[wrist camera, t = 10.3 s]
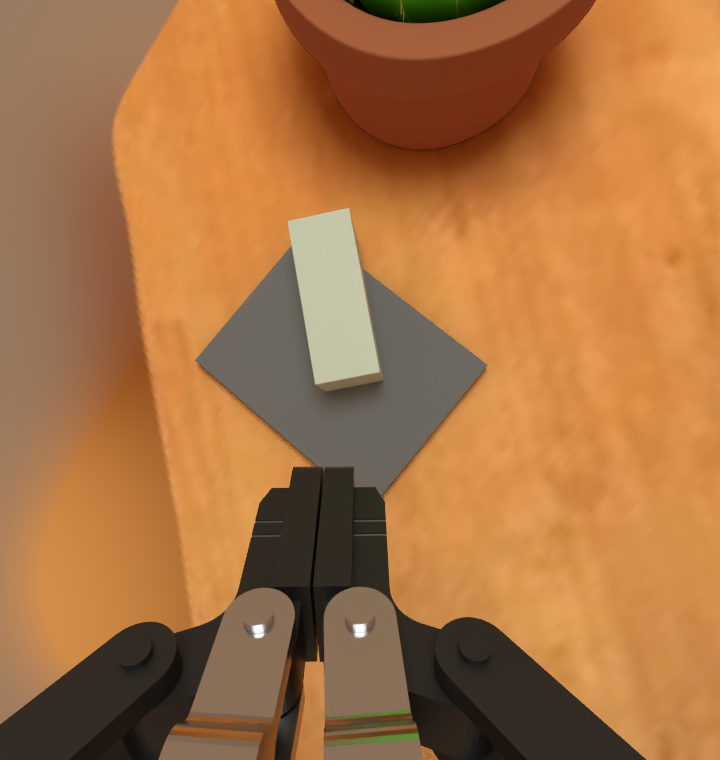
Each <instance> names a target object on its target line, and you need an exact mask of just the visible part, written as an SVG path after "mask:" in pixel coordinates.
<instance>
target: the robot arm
mask: <svg viewBox="0 0 720 760" xmlns="http://www.w3.org/2000/svg"><path fill="white" fill-rule="evenodd" d="M318 646H319V657H320V662H324V675H325V728H324V760H423V758H422V752H421V745H422V746H424V747H427V748H430V749H432V750H433V752H434V754H435V755H436V756H437V758H438V759H439V760H646V759H645V758H644V757H643V756H641V755H640V754H639V753H638V752H637V751H636V750H635V749H634V748H632V747H631V746H630V745H629V744H628V743H627V742H626V741H625V740H623V739H622V738H621V737H620V736H619V735H618V734H617V733H615V732H614V731H613V730H612V729H611V728H610V727H609V726H608V725H606V724H605V723H604V722H603V721H602V720H601V719H600V718H599V717H597V716H596V715H595V714H594V713H593V712H592V711H591V710H590V709H588V708H587V707H586V706H585V705H584V704H583V703H582V702H580V701H579V700H578V699H577V698H576V697H575V696H574V695H573V694H571V693H570V692H569V691H568V690H567V689H566V688H565V687H564V686H562V685H561V684H560V683H559V682H558V681H557V680H556V679H554V678H553V677H552V676H551V675H550V674H549V673H548V672H547V671H545V670H544V669H543V668H542V667H541V666H540V665H539V664H538V663H536V662H535V661H534V660H533V659H532V658H531V657H530V656H528V655H527V654H526V653H525V652H524V651H523V650H522V649H521V648H519V647H518V646H517V645H516V644H515V643H514V642H513V641H512V640H510V639H509V638H508V637H507V636H506V635H505V634H504V633H503V632H501V631H500V630H499V629H498V628H496V627H495V626H494V625H492V624H490V623H489V622H486V621H484V620H481V619H477V618H471V617H465V618H459V619H455V620H453V621H451V622H449V623H447V624H446V625H445V626H444V627H443V628H442V629H438V628H434V627H431V626H428V625H425V624H421V623H419V622H416V621H414V620H412V619H410V618H409V617H407V616H406V615H405V614H403V613H402V612H401V611H400V610H399V609H398V607H397V606H396V605H395V603H394V601H393V599H392V597H391V594H390V587H389V569H388V552H387V536H386V517H385V501H384V500H383V498H382V497H381V495H380V494H379V492H378V490H377V489H376V487H355V482H354V466H334V467H325V469H324V470H323V467H293V470H292V476H291V481H290V487H289V488H272V489H271V490H270V491H269V492H268V493H267V495H266V496H265V497H264V498H263V500H262V501H261V502H260V504H259V508H258V512H257V516H256V523H255V524H254V528H253V532H252V538H251V541H250V545H249V549H248V553H247V557H246V561H245V565H244V569H243V573H242V577H241V581H240V585H239V589H238V592H237V595H236V597H235V599H234V601H233V602H232V603H231V604H230V605H229V606H228V608H227V609H226V611H224V612H223V613H222V614H221V615H220V616H218V617H217V618H215V619H214V620H212V621H210V622H208V623H205V624H203V625H200V626H197V627H194V628H190V629H187V630H184V631H181V632H177V633H173V632H172V631H171V630H170V629H169V628H168V627H167V626H165V625H163V624H161V623H157V622H143V623H139V624H135V625H133V626H130V627H128V628H126V629H124V630H122V631H121V632H120V633H118V634H116V635H115V636H114V637H113V638H111V639H110V640H109V641H107V642H106V643H105V644H104V645H102V646H101V647H100V648H98V649H97V650H96V651H95V652H93V653H92V654H91V655H89V656H88V657H87V658H85V659H84V660H83V661H82V662H80V663H79V664H78V665H76V666H75V667H74V668H73V669H71V670H70V671H69V672H67V673H66V674H65V675H64V676H62V677H61V678H60V679H59V680H57V681H56V682H55V683H53V684H52V685H51V686H49V687H48V688H47V689H46V690H44V691H43V692H42V693H40V694H39V695H38V696H36V697H35V698H34V699H33V700H31V701H30V702H29V703H27V704H26V705H25V706H24V707H22V708H21V709H20V710H18V711H17V712H16V713H15V714H13V715H12V716H11V717H9V718H8V719H7V720H6V721H4V722H3V723H2V724H0V760H295V757H296V751H297V745H298V739H299V733H300V727H301V721H302V715H303V709H304V702H305V693H304V684H303V678H304V668H305V662H309V661H317V652H318Z"/></svg>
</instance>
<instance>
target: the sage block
mask: <svg viewBox="0 0 720 760" xmlns="http://www.w3.org/2000/svg"><path fill="white" fill-rule="evenodd" d="M288 227H289V233H290V238H291V244H292V250H293V256H294V262H295V268H296V274H297V280H298V286H299V292H300V298H301V304H302V309H303V315H304V321H305V327H306V333H307V339H308V345H309V351H310V357H311V363H312V369H313V375H314V380H315V385H317V386H318V387H320V388H321V389H323V390H324V391H326V392H327V391H332V390H337V389H342V388H347V387H353V386H358V385H363V384H368V383H373V382H379V381H384V380H383V374H382V369H381V364H380V358H379V353H378V348H377V343H376V337H375V332H374V327H373V321H372V316H371V311H370V305H369V300H368V295H367V290H366V284H365V279H364V274H363V268H362V263H361V258H360V252H359V247H358V242H357V237H356V232H355V228H354V225H353V221H352V217H351V213H350V210H349V208H346V209H341V210H337V211H332V212H328V213H323V214H318V215H314V216H309V217H305V218H300V219H296V220H291V221H288Z"/></svg>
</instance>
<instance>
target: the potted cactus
mask: <svg viewBox="0 0 720 760" xmlns="http://www.w3.org/2000/svg"><path fill="white" fill-rule="evenodd" d="M275 1H276V4H277V6H278V8H279V11H280V13H281V15H282V16H283V18H284V20H285V22H286V24H287V26H288V27H289V29H290V30H291V32H292V33H293V35H294V36H295V38H296V39H297V40H298V41H299V43H300V44H301V45H302V46H303V47H304V49H305V50H306V51H307V52H308V53H309V54H310V55H311V56H312V57H313V58H314V59H315V60H316V61H317V62H318V63H320V64H321V65H322V66H323V67H324V68H325V69H326V73H327V76H328V79H329V82H330V85H331V87H332V90H333V92H334V94H335V96H336V98H337V99H338V101H339V103H340V104H341V106H342V107H343V109H344V110H345V111H346V113H347V114H348V115H349V116H350V118H351V119H352V120H353V121H354V122H355V123H356V124H357V125H358V126H360V127H361V128H362V129H363V130H364V131H366V132H367V133H369V134H370V135H372V136H373V137H375V138H377V139H379V140H380V141H382V142H385V143H387V144H390V145H393V146H396V147H400V148H406V149H418V150H423V149H434V148H441V147H445V146H449V145H453V144H456V143H459V142H462V141H464V140H467V139H469V138H471V137H473V136H475V135H477V134H479V133H481V132H483V131H485V130H486V129H488V128H489V127H491V126H492V125H494V124H495V123H497V122H498V121H499V120H501V119H502V118H503V117H504V116H505V115H506V114H507V113H509V112H510V111H511V110H512V108H513V107H514V106H515V105H516V104H517V103H518V102H519V100H520V99H521V98H522V97H523V95H524V94H525V92H526V91H527V89H528V88H529V86H530V84H531V82H532V80H533V78H534V76H535V73H536V70H537V67H538V64H539V61H540V58H541V57H542V56H544V55H545V54H547V53H548V52H549V51H551V50H552V49H553V48H554V47H555V46H557V45H558V44H559V43H560V42H561V41H562V40H563V39H565V38H566V37H567V36H568V35H569V34H570V33H571V32H572V31H573V30H574V28H575V27H576V26H577V25H578V24H579V23H580V22H581V20H582V19H583V18H584V17H585V15H586V14H587V13H588V12H589V10H590V9H591V7H592V6H593V4H594V3H595V1H596V0H275Z"/></svg>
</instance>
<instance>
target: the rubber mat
mask: <svg viewBox="0 0 720 760" xmlns="http://www.w3.org/2000/svg"><path fill="white" fill-rule="evenodd" d="M363 274H364V279H365V284H366V290H367V295H368V300H369V305H370V311H371V316H372V321H373V327H374V332H375V337H376V343H377V348H378V353H379V358H380V364H381V369H382V374H383V380H384V381H379V382H373V383H368V384H363V385H358V386H353V387H347V388H342V389H337V390H332V391H327V392H326V391H324V390H323V389H321V388H320V387H318V386H317V385H315V380H314V375H313V369H312V363H311V357H310V351H309V345H308V339H307V333H306V327H305V321H304V315H303V309H302V304H301V298H300V292H299V286H298V280H297V274H296V268H295V262H294V256H293V250H292V246H291V247H290V248H289V249H288V251H287V252H286V253H285V254H284V255H283V257H282V258H281V259H280V260H279V261H278V262H277V264H276V265H275V266H274V267H273V268H272V270H271V271H270V272H269V273H268V274H267V276H266V277H265V278H264V279H263V280H262V281H261V283H260V284H259V285H258V286H257V287H256V289H255V290H254V291H253V292H252V293H251V295H250V296H249V297H248V298H247V299H246V301H245V302H244V303H243V304H242V305H241V306H240V308H239V309H238V310H237V311H236V312H235V314H234V315H233V316H232V317H231V318H230V320H229V321H228V322H227V323H226V324H225V325H224V327H223V328H222V329H221V330H220V331H219V333H218V334H217V335H216V336H215V337H214V339H213V340H212V341H211V342H210V343H209V345H208V346H207V347H206V348H205V349H204V350H203V352H202V353H201V354H200V355H199V356H198V358H197V359H196V360H195V361H196V362H197V363H198V364H200V365H201V366H202V367H203V368H204V369H205V370H206V371H208V372H209V373H210V374H211V375H212V376H213V377H215V378H216V379H217V380H218V381H219V382H220V383H221V384H223V385H224V386H225V387H226V388H227V389H228V390H230V391H231V392H232V393H233V394H234V395H235V396H237V397H238V398H239V399H240V400H241V401H242V402H243V403H245V404H246V405H247V406H248V407H249V408H250V409H252V410H253V411H254V412H255V413H256V414H257V415H258V416H260V417H261V418H262V419H263V420H264V421H265V422H267V423H268V424H269V425H270V426H271V427H272V428H273V429H275V430H276V431H277V432H278V433H279V434H280V435H282V436H283V437H284V438H285V439H286V440H287V441H289V442H290V443H291V444H292V445H293V446H294V447H295V448H297V449H298V450H299V451H300V452H301V453H302V454H304V455H305V456H306V457H307V458H308V459H309V460H310V461H312V462H313V463H314V464H315V465H316V466H317V467H323V470H324V469H325V467H334V466H354V482H355V487H376V489H377V490H378V492H379V494H380V495H382V494H383V493H384V492H385V491H386V489H387V488H388V487H389V486H390V484H391V483H392V482H393V481H394V480H395V478H396V477H397V476H398V475H399V473H400V472H401V471H402V470H403V468H404V467H405V466H406V465H407V464H408V462H409V461H410V460H411V459H412V457H413V456H414V455H415V454H416V453H417V451H418V450H419V449H420V448H421V446H422V445H423V444H424V443H425V441H426V440H427V439H428V438H429V437H430V435H431V434H432V433H433V432H434V430H435V429H436V428H437V427H438V426H439V424H440V423H441V422H442V421H443V419H444V418H445V417H446V416H447V414H448V413H449V412H450V411H451V410H452V408H453V407H454V406H455V405H456V403H457V402H458V401H459V400H460V399H461V397H462V396H463V395H464V394H465V392H466V391H467V390H468V389H469V387H470V386H471V385H472V384H473V383H474V381H475V380H476V379H477V378H478V376H479V375H480V374H481V373H482V372H483V370H484V369H485V368H486V367H487V364H485V363H484V362H483V361H481V360H480V359H479V358H478V357H476V356H475V355H474V354H472V353H471V352H470V351H468V350H467V349H466V348H465V347H463V346H462V345H461V344H459V343H458V342H457V341H455V340H454V339H453V338H452V337H450V336H449V335H448V334H446V333H445V332H444V331H443V330H441V329H440V328H439V327H437V326H436V325H435V324H433V323H432V322H431V321H430V320H428V319H427V318H426V317H424V316H423V315H422V314H420V313H419V312H418V311H417V310H415V309H414V308H413V307H411V306H410V305H409V304H407V303H406V302H405V301H404V300H402V299H401V298H400V297H398V296H397V295H396V294H394V293H393V292H392V291H391V290H389V289H388V288H387V287H385V286H384V285H383V284H381V283H380V282H379V281H378V280H376V279H375V278H374V277H372V276H371V275H370V274H369V273H367V272H366V271H365V270H363Z"/></svg>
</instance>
